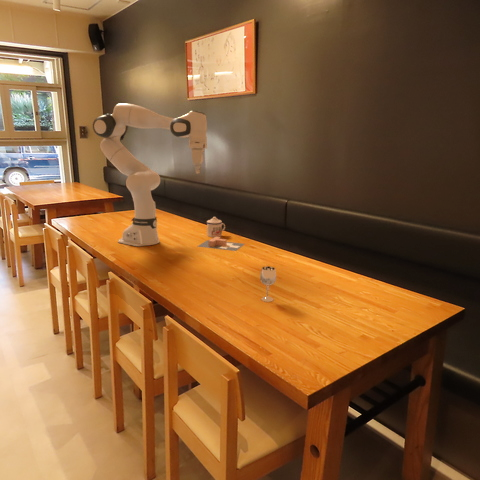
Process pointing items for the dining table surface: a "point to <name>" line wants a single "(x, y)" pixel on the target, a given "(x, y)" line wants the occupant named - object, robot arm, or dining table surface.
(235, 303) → the dining table surface
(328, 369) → the dining table surface
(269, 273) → the wineglass
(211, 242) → the t block
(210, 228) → the teacup with lid
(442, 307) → the dining table surface
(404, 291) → the dining table surface
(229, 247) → the t mat
